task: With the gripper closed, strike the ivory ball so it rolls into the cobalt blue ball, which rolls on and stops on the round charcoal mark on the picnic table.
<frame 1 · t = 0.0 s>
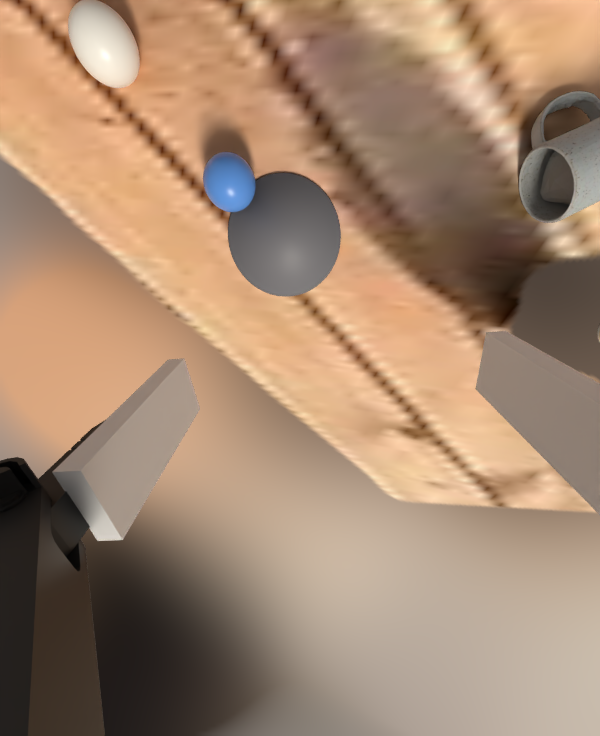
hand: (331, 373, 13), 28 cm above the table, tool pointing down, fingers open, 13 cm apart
ceramic mug: (550, 161, 32), on the table
blue ball: (229, 183, 31), on the table
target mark: (284, 239, 36), on the table
white ball: (106, 46, 27), on the table
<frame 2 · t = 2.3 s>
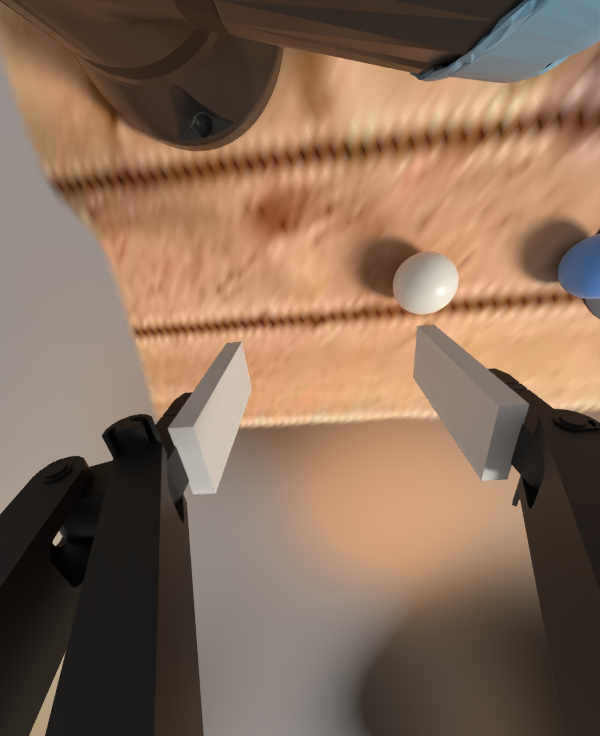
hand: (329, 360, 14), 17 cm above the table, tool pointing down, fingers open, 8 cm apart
blue ball: (599, 266, 25), on the table
white ball: (424, 283, 27), on the table
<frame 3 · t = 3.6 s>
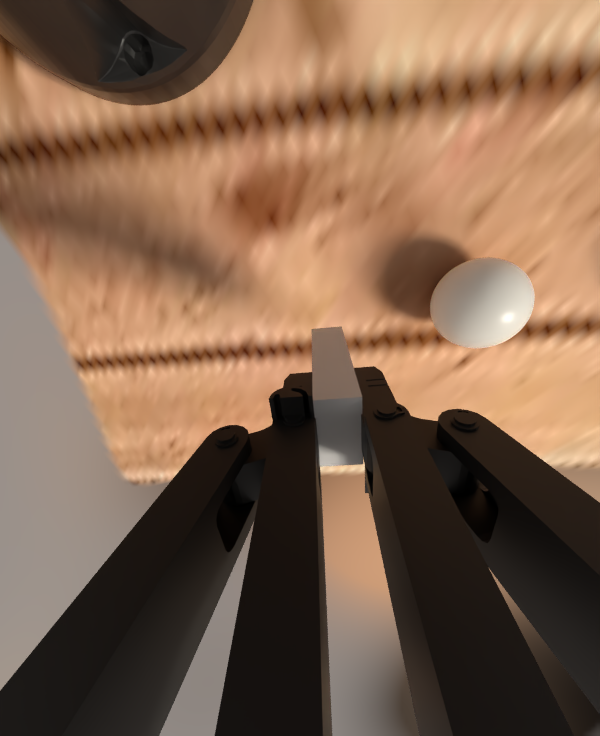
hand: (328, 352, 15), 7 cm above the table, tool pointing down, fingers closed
white ball: (478, 304, 18), on the table
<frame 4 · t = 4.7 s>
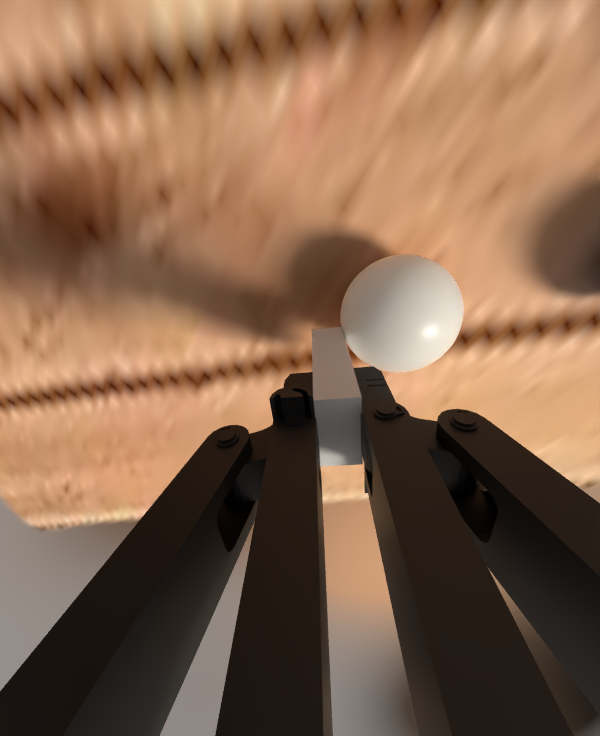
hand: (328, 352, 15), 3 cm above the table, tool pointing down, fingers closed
white ball: (398, 315, 14), on the table, touching gripper
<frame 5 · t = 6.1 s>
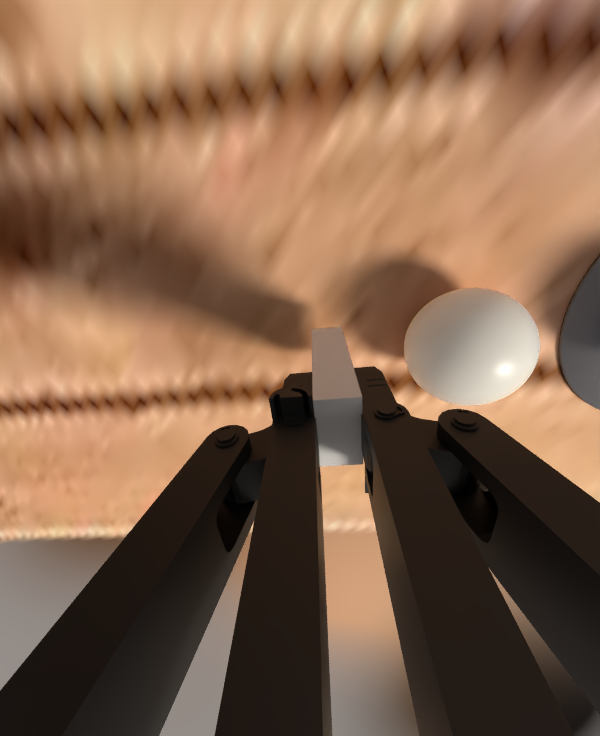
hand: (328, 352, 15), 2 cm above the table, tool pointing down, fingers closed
white ball: (465, 347, 14), on the table
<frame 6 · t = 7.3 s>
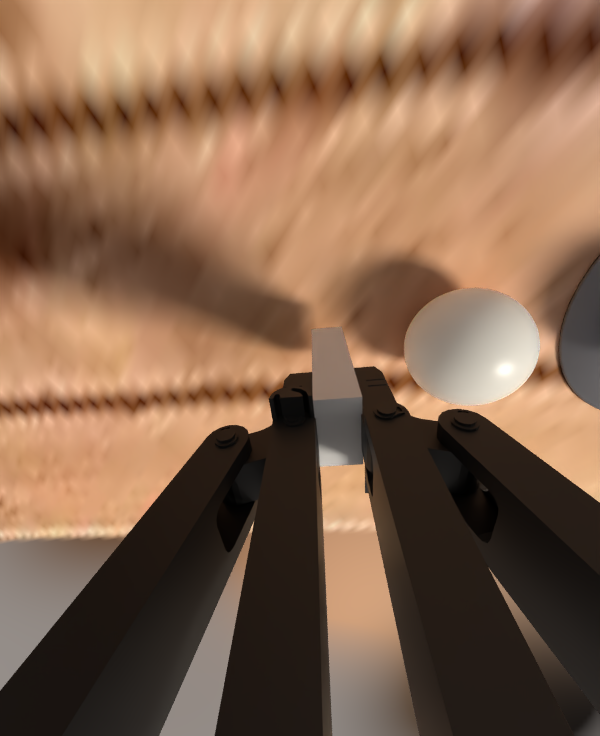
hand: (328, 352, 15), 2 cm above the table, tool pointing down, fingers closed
white ball: (465, 347, 14), on the table
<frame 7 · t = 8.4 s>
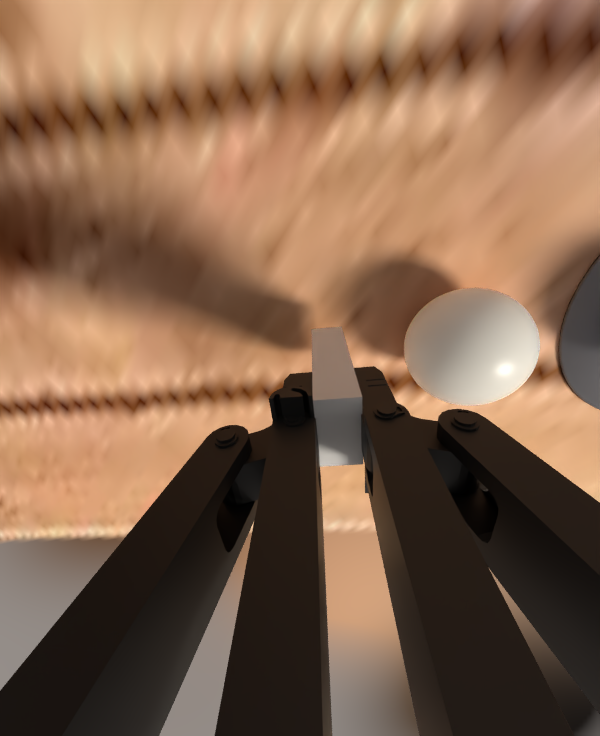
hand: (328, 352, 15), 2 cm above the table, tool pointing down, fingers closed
white ball: (465, 347, 14), on the table
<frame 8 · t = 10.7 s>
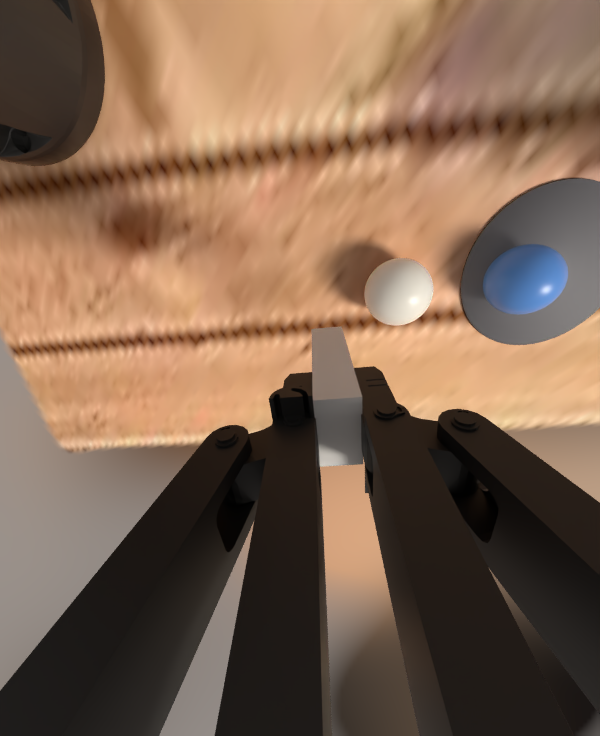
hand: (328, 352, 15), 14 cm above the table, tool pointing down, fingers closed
blue ball: (522, 280, 24), on the table
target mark: (542, 271, 26), on the table
white ball: (397, 292, 25), on the table
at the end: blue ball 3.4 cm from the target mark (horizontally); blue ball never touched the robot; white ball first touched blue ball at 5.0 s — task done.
